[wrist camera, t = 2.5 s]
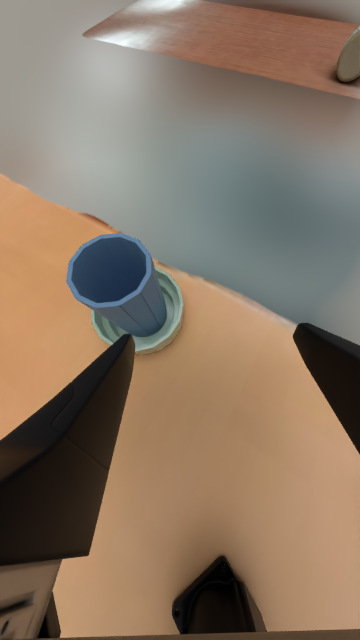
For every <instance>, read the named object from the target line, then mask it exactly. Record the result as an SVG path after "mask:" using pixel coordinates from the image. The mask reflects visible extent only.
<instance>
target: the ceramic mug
mask: <svg viewBox="0 0 360 640" xmlns="http://www.w3.org/2000/svg"><path fill="white" fill-rule="evenodd" d="M336 71H337V77H338V78H339V80H341V81H343V82H349V81H352V80H354V79H356V78H357V77H359V76H360V26H359V27H358V28H357V29H356V31H355V32H354V33H353V34H352V36H351V37H350V38H349V40H348V41H347V43H346V44H345V46H344V48H343V50H342V52H341V54H340V56H339V59H338V63H337V70H336Z"/></svg>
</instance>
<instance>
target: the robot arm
mask: <svg viewBox="0 0 360 640" xmlns="http://www.w3.org/2000/svg"><path fill="white" fill-rule="evenodd" d="M293 339H294V342H295V344H296V346H297V348H298V350H299V352H300V354H301V357H302V359H303V361H304V363H305V365H306V366H307V368H308V370H309V371H310V373H311V375H312V376H313V378H314V380H315V381H316V383H317V385H318V386H319V388H320V390H321V391H322V393H323V395H324V396H325V398H326V399H327V401H328V403H329V404H330V406H331V408H332V409H333V411H334V413H335V414H336V416H337V418H338V419H339V421H340V423H341V424H342V426H343V428H344V429H345V431H346V433H347V434H348V436H349V438H350V439H351V441H352V442H353V444H354V446H355V447H356V449H357V451H358V452H359V454H360V346H359V345H357V344H355V343H352V342H350V341H348V340H346V339H343V338H341V337H339V336H336V335H334V334H332V333H330V332H327V331H325V330H323V329H321V328H318V327H316V326H314V325H311V324H309V323H300V324H298V325H297V328H296V330H295V332H294V334H293ZM134 356H135V342H134V339H133V336H132V334H123V335H122V336H121V337H120V338H119V339H118V340H117V341H115V342H114V343H113V344H112V345H111V346H110V347H109V348H108V349H107V350H106V351H104V352H103V353H102V354H101V355H100V356H99V357H98V358H97V359H96V360H95V361H94V362H92V363H91V364H90V365H89V366H88V367H87V368H86V369H85V370H84V371H83V372H82V373H80V374H79V375H78V376H77V377H76V378H75V379H74V380H73V381H72V382H71V383H69V384H68V385H67V386H66V387H65V388H64V389H63V390H62V391H61V392H59V393H58V394H57V395H56V396H55V397H54V398H53V399H51V400H50V401H49V402H48V403H47V404H45V405H44V406H43V407H42V408H40V409H39V410H38V411H37V412H36V413H34V414H33V415H32V416H31V417H29V418H28V419H27V420H26V421H24V422H23V423H22V424H21V425H19V426H18V427H17V428H16V429H14V430H13V431H12V432H11V433H9V434H8V435H7V436H6V437H4V438H3V439H2V440H0V640H360V629H348V630H314V631H280V632H267V630H266V628H265V625H264V622H263V619H262V616H261V613H260V611H259V609H258V607H257V605H256V604H255V602H254V600H253V598H252V597H251V595H250V593H249V591H248V589H247V588H246V586H245V584H244V582H242V581H241V580H240V581H239V580H238V578H237V576H236V575H235V573H234V571H233V569H232V568H231V566H230V564H229V562H228V560H227V559H226V558H225V557H224V556H221V557H220V558H218V559H217V560H216V561H215V562H214V563H213V564H212V565H211V566H210V567H209V568H208V569H207V570H206V571H205V572H204V573H203V574H202V575H201V576H200V577H199V578H198V579H197V580H196V581H195V582H194V583H193V584H192V585H191V586H189V587H188V588H187V589H186V590H185V591H184V592H183V593H182V594H181V595H180V596H179V597H178V598H177V599H176V600H175V601H174V602H173V605H172V616H173V619H174V621H175V623H176V625H177V627H178V630H179V632H180V634H179V635H145V636H111V637H77V638H59V637H60V633H61V630H60V625H59V620H58V616H57V611H56V606H55V601H54V596H53V591H52V590H53V587H54V584H55V581H56V577H57V574H58V571H59V568H60V565H61V561H62V559H66V558H74V557H83V556H88V555H89V552H90V548H91V544H92V540H93V536H94V532H95V528H96V523H97V519H98V515H99V511H100V507H101V503H102V498H103V494H104V490H105V486H106V482H107V478H108V473H109V469H110V465H111V461H112V456H113V452H114V448H115V444H116V440H117V436H118V431H119V427H120V423H121V419H122V415H123V411H124V406H125V402H126V398H127V394H128V390H129V386H130V382H131V377H132V372H133V364H134ZM222 564H225V566H224V567H223V566H222ZM176 609H179V611H176Z"/></svg>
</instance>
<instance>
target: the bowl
mask: <svg viewBox="0 0 360 640" xmlns="http://www.w3.org/2000/svg"><path fill="white" fill-rule="evenodd" d="M154 267H155V266H154ZM155 271H156V274H157V277H158V281H159V284H160V287H161V290H162V294H163V297H164V300H165V304H166V309H167V318H166V322H165V324H164V326H163V327H162V328H161V329H160V330H159V331H158V332H157V333H155V334H154V335H151V336H148V337H137V336H134V335H132V336H133V339H134V342H135V354H140V355H144V354H148V353H153V352H157V351H160V350H161V349H163V348H164V347H165V346H167V345H168V344H170V343H171V342H172V341H173V340H174V338H175V337H176V335H177V334H178V332H179V331H180V329H181V326H182V321H183V315H184V307H183V299H182V295H181V291H180V287H179V286H178V284H177V283H176V282H175V281H174V279H173V278H172V277H171V276H170V274H168V273H166V272H164V271H162V270H161V269H159V268H157V267H155ZM91 318H92V324H93V326H94V328H95V330H96V331H97V333H98V335H99V337H100V338H101V339H102V340H104V341H105V342H106V343H108V344H109V345H112V344H113V343H114V342H115V341H117V340H118V339H119V338H120V337H121V336H122V335H123V334H130V333H128V332H126V331H125V330H123V329H122V328H120V327H118V326H117V325H115V324H114V323H112V322H111V321H109V320H108V319H106V318H104V317H103V316H101V315H100V314H98V313H97V312H95V311H94V310H92V309H91Z"/></svg>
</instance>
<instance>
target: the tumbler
mask: <svg viewBox="0 0 360 640" xmlns="http://www.w3.org/2000/svg"><path fill="white" fill-rule="evenodd" d="M69 262H70V263H69V264H68V272H67V280H66V281H67V284H68V286H69V288H70V289H71V291H72V293H73V295H74V297H75V298H76V299H77V300H78V301H80V302H81V303H83V304H84V305H86V306H87V307H89V308H91V309H92V310H94V311H95V312H97V313H98V314H100V315H101V316H103V317H104V318H106V319H108V320H109V321H111V322H112V323H114V324H115V325H117V326H118V327H120V328H122V329H123V330H125V331H126V332H128V333H130V334H132V335H134V336H137V337H148V336H151V335H154V334H155V333H157V332H158V331H159V330H160V329H161V328H162V327H163V326H164V324H165V322H166V318H167V309H166V304H165V300H164V297H163V294H162V290H161V287H160V284H159V281H158V277H157V274H156V271H155V267H154V264H153V261H152V258H151V255H150V253H149V252H148V250H147V249H146V248H145V246H144V245H143V244H142V243H141V241H140V240H138V239H136V238H133V237H130V236H127V235H125V234H122V233H117V234H106V235H101V236H98V237H96V238H94V239H92V240H90V241H89V242H87V243H85V244H83V245H82V246H81V247H80V248H79V249H78V251H77V252H76V253H75V255H74V256H73V257H72V259H71V260H70V261H69Z"/></svg>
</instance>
